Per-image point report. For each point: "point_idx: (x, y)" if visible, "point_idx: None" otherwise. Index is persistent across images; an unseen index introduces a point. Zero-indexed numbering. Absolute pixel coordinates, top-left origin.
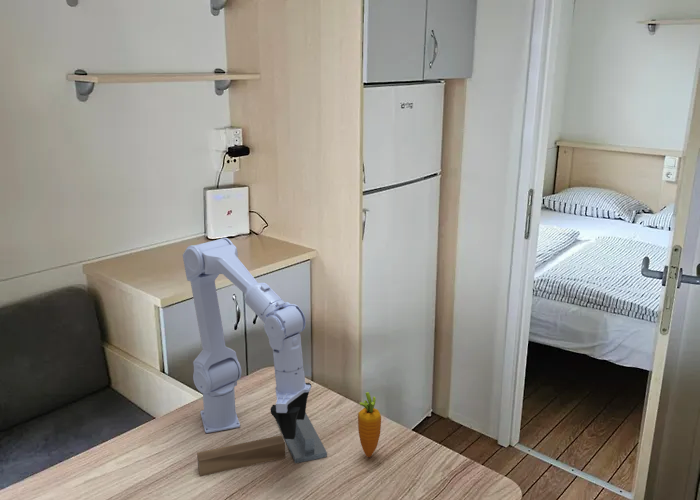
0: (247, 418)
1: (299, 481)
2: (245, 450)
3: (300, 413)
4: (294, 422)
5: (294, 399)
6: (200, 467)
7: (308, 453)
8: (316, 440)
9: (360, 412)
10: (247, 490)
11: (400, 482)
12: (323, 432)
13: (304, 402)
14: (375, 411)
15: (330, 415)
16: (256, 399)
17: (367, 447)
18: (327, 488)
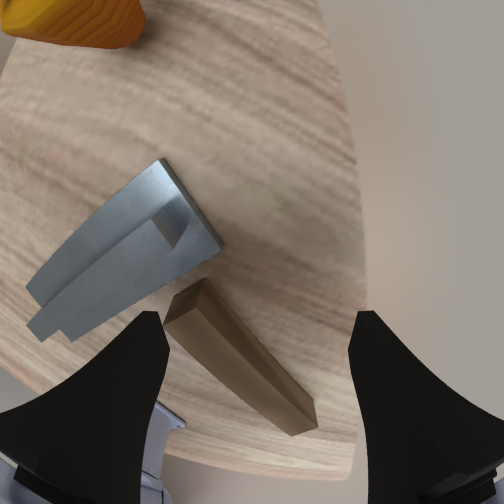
0: None
1: (305, 207)
2: (266, 382)
3: (149, 350)
4: (448, 388)
5: (129, 441)
6: (315, 414)
7: (183, 217)
8: (112, 214)
9: (32, 10)
10: (353, 318)
11: None
12: (64, 209)
13: (108, 390)
14: None
15: (10, 217)
16: (54, 372)
17: (143, 13)
18: (321, 115)
